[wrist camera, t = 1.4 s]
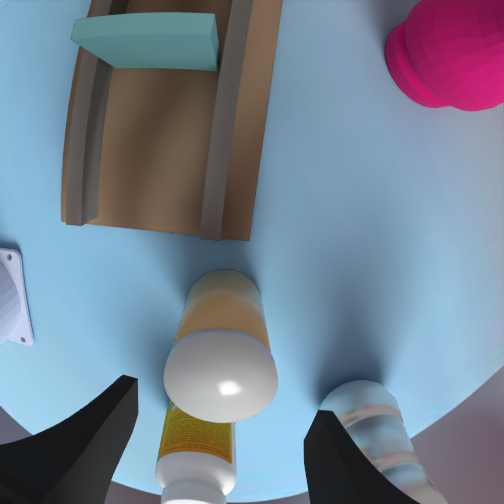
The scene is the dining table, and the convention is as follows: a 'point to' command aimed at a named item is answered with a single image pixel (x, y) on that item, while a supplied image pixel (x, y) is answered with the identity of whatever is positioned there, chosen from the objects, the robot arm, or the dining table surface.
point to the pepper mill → (450, 54)
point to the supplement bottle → (195, 459)
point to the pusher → (152, 40)
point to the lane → (172, 129)
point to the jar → (222, 351)
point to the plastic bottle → (382, 436)
